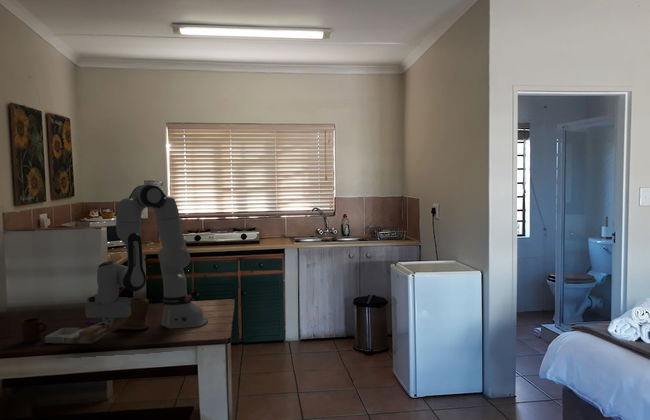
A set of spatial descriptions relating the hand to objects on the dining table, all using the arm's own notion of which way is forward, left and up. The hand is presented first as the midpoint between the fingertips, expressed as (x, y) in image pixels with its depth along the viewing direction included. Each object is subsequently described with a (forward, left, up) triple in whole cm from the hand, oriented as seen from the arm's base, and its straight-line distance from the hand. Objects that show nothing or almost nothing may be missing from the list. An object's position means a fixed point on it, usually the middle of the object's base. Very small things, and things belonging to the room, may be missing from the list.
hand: (108, 326), depth 234 cm
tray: (+20, +3, -5) cm, 21 cm away
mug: (+31, +6, -5) cm, 32 cm away
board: (+9, +3, -5) cm, 11 cm away
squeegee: (+19, -21, -6) cm, 29 cm away
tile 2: (+7, +6, -2) cm, 9 cm away
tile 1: (+7, 0, -2) cm, 7 cm away
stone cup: (-6, -13, -5) cm, 15 cm away
